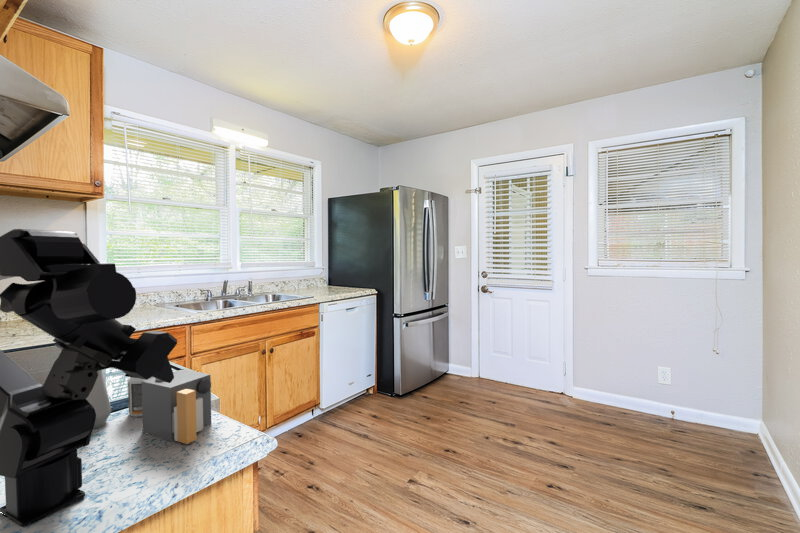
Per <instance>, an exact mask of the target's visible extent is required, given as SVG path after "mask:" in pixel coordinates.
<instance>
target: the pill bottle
mask: <svg viewBox="0 0 800 533" xmlns="http://www.w3.org/2000/svg"><path fill="white" fill-rule="evenodd" d="M151 378H154V377H150V378H149V379H151ZM144 380H145V379H140V378H133V377H128V380H127V395H128V396H127V400H128V401H127V403H128V414H129V415H130V416H131V417H135V418H137V417H138V418H140V417H141V418H142V381H144ZM147 380H148V379H147Z"/></svg>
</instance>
